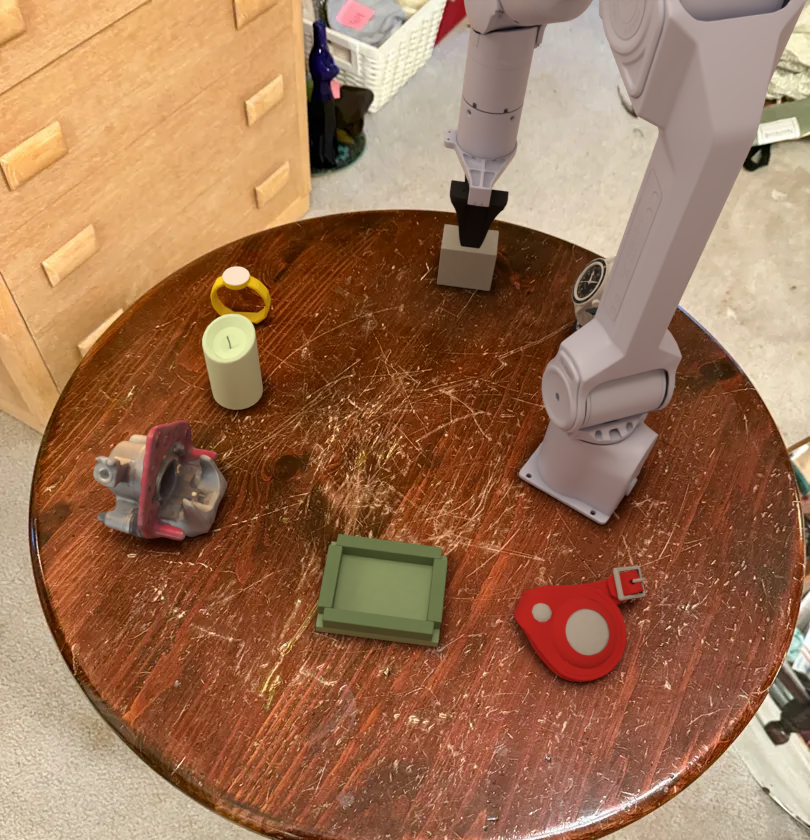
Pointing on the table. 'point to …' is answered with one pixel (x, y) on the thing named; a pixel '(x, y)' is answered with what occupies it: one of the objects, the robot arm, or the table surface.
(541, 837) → the table surface
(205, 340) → the candle
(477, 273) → the grey beige block
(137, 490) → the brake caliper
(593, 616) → the tracker holder
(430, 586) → the green tray
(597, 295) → the watch
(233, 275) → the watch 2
